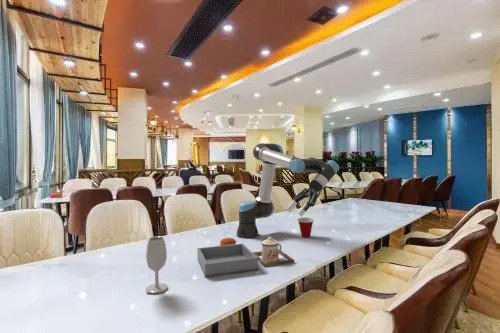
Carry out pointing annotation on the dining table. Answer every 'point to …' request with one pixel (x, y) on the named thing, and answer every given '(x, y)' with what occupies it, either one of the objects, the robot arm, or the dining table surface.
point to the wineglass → (156, 262)
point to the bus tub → (226, 260)
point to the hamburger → (227, 241)
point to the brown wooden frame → (289, 260)
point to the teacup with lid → (270, 250)
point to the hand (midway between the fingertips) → (293, 212)
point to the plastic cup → (305, 226)
